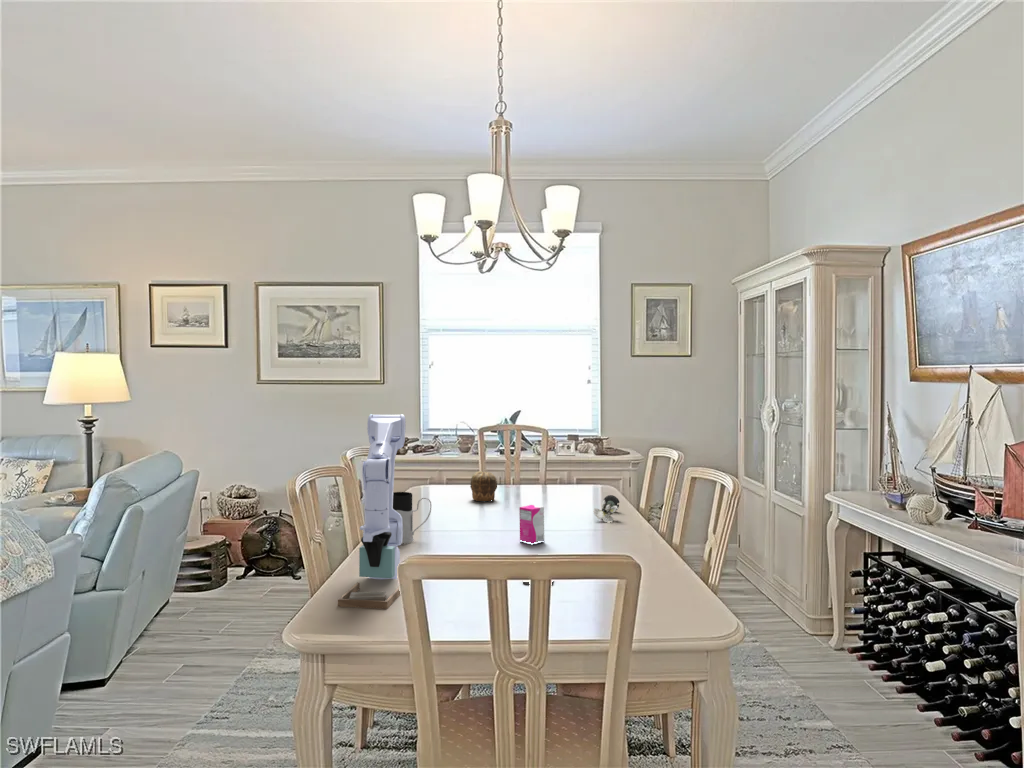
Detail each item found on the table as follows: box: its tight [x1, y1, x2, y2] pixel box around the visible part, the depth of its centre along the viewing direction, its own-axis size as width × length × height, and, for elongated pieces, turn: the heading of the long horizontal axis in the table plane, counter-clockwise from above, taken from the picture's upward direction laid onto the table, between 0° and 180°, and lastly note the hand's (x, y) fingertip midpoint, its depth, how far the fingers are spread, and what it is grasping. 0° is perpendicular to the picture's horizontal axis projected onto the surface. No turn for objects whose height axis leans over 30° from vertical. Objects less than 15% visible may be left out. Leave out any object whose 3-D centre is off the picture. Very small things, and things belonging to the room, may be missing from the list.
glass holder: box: [393, 491, 432, 545], centre depth 244 cm, size 9×14×15 cm, turn 95°
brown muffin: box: [469, 471, 498, 502], centre depth 314 cm, size 11×11×12 cm
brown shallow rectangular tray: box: [337, 581, 401, 610], centre depth 180 cm, size 14×12×3 cm
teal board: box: [358, 544, 395, 578], centre depth 184 cm, size 2×8×7 cm, turn 83°
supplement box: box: [518, 504, 545, 543], centre depth 243 cm, size 6×6×12 cm
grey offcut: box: [349, 591, 387, 601], centre depth 177 cm, size 4×8×2 cm, turn 96°
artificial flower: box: [593, 494, 620, 523], centre depth 283 cm, size 9×22×10 cm, turn 160°
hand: (376, 564), depth 184 cm, fingers closed on teal board, 2 cm apart
